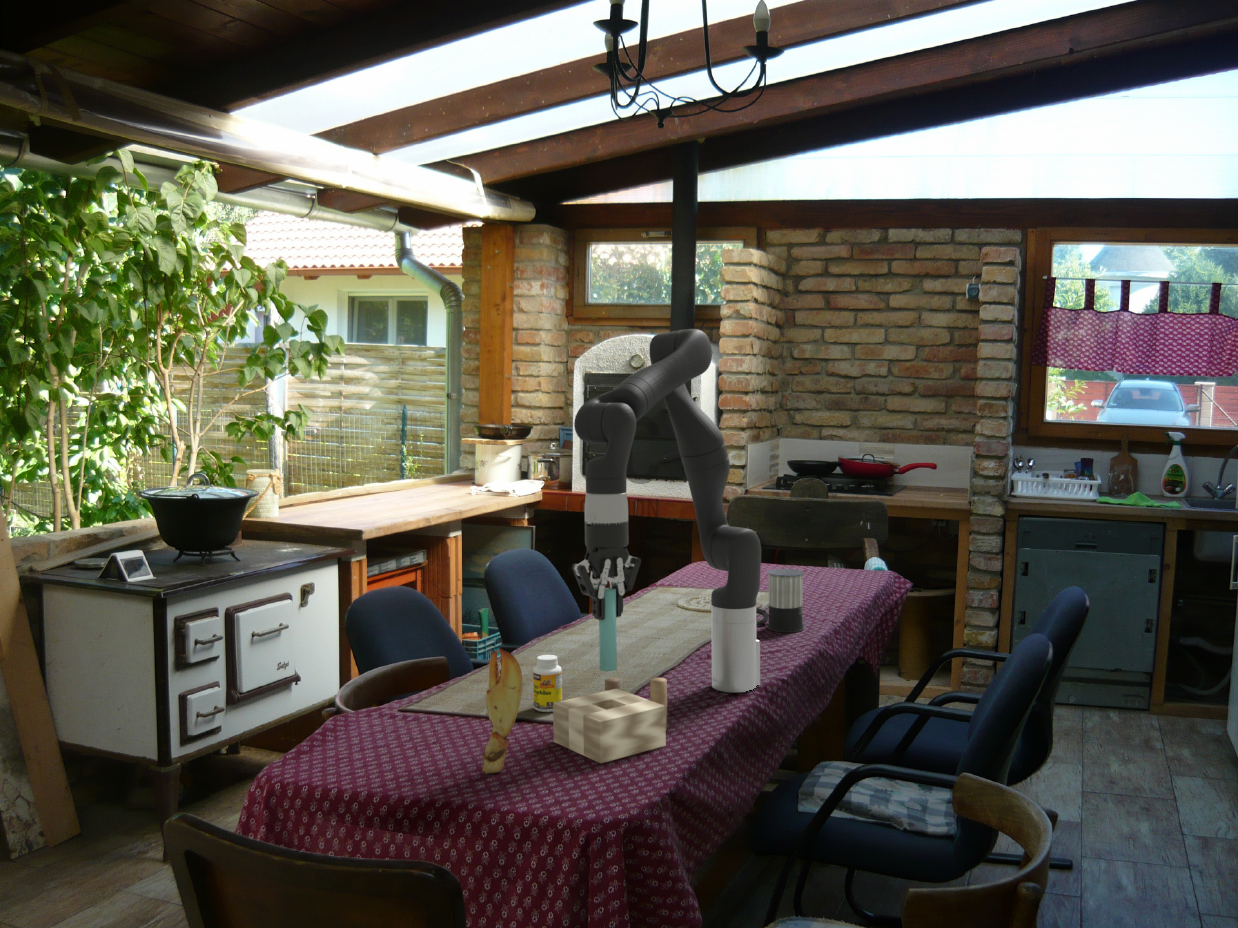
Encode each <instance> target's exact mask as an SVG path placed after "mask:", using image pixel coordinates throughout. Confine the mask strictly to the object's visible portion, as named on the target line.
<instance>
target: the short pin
mask: <svg viewBox="0 0 1238 928" xmlns="http://www.w3.org/2000/svg"><path fill="white" fill-rule="evenodd" d="M612 689H620V690H622V689H621V679H620V678H616V677H609V678H608V677H607V678H605V679H604V691H608V690H612Z"/></svg>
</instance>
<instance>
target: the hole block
mask: <svg viewBox="0 0 1238 928" xmlns="http://www.w3.org/2000/svg"><path fill="white" fill-rule="evenodd" d="M552 713H553V714H552V715H553V716H552V717H553V718H552V719H553V722H552V723H553V725H552V726H553V743H555V744H558V745H560V746H562V747H564V748H566V749H569V750H571V751H573V752H574V753H577V754H579V755H582V756H584V757H586V758H588V759H590V760H592V761H595V762H597V763H599V764H604V763H607V762H611V761H614V760H618V759H621V758H625V757H630V756H633V755H637V754H641V753H643V752H647V751H652V750H656V749H658V748H659V749H660V748H662V747H666V745H667V740H666V739H667V735H666V731H667V730H666V711H665V706H664V705H661V704H659V703H656V702H653V701H650V699H647V698H644V697H641V696H639V695H636V694H634V693H631V692H627V691H624V690H622V689H621V690H620V689H612V690H608V691H605V690H604V691H600V692H595V693H590V694H586V695H581V696H577V697H572V698H568V699H564V700H563V699H562V701H559V702H554V703H553V712H552Z"/></svg>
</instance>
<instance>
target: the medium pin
mask: <svg viewBox="0 0 1238 928" xmlns="http://www.w3.org/2000/svg"><path fill="white" fill-rule="evenodd" d="M649 681H650V682H649V685H650V688H649V689H650V690H649V691H650V692H649V695H650V697H649V698H650V699H649V700H650V701H653V702H656V703H659V704H661V705H664V706H665V711H666V731H667V730H668V685H667V684H668V683H667V682H668V680H667V678H664V677H654V678H651V679H650V680H649Z"/></svg>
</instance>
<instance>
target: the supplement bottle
mask: <svg viewBox="0 0 1238 928" xmlns="http://www.w3.org/2000/svg"><path fill="white" fill-rule="evenodd" d="M558 659H559V658H558V656H557V655H553V654H542V655H538V656H537V657H536V666H534V667H533V669H532V673H533V675H532V677H533V678H532V679H533V681H532V683H533V684H532V685H533V687H532V689H533V708H534V710H536V711H537V712H540V713H541V712H542V713H553V703H554V702H559V701H563V670H562V667H561V666H560V665H559V661H558Z"/></svg>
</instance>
